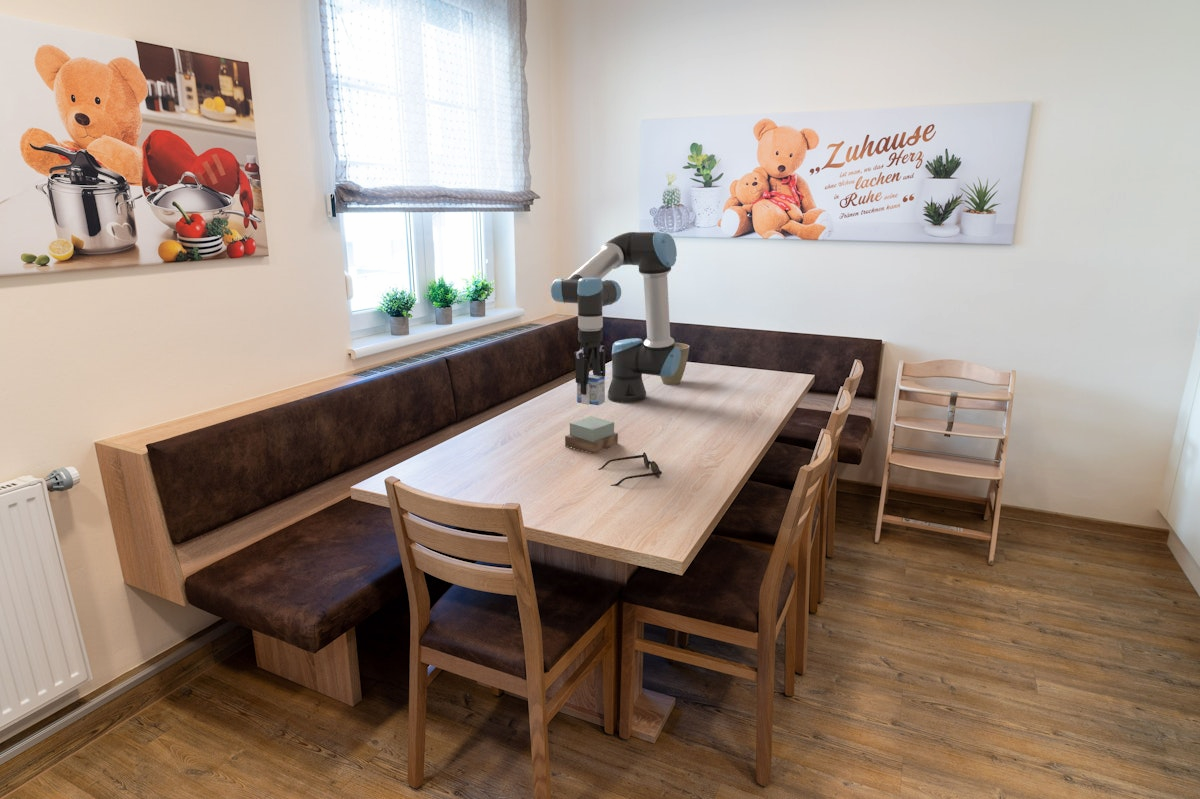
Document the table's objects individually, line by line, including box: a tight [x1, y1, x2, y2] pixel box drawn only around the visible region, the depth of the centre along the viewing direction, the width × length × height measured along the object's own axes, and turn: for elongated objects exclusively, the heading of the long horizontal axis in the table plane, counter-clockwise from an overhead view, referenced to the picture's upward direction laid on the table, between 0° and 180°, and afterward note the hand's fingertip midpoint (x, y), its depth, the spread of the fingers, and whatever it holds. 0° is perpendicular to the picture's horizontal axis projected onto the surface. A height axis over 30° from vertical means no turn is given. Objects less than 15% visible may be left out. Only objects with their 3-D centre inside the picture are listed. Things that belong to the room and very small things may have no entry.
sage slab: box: [569, 415, 615, 442], centre depth 229 cm, size 10×10×4 cm
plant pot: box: [659, 342, 690, 386], centre depth 303 cm, size 15×15×16 cm
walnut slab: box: [564, 432, 619, 455], centre depth 230 cm, size 12×12×4 cm
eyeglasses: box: [597, 451, 663, 487], centre depth 205 cm, size 15×15×5 cm
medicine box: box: [576, 373, 606, 406], centre depth 225 cm, size 8×4×9 cm, turn 62°
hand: (590, 401), depth 227 cm, fingers closed on medicine box, 5 cm apart
